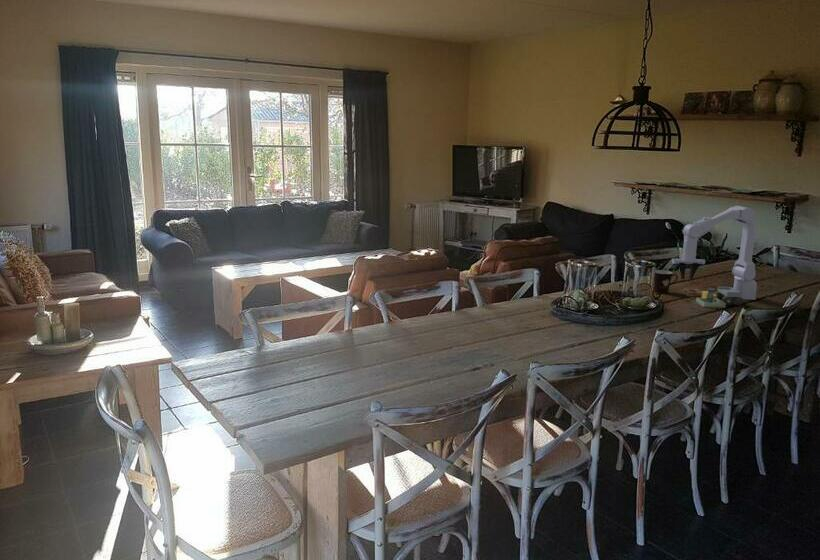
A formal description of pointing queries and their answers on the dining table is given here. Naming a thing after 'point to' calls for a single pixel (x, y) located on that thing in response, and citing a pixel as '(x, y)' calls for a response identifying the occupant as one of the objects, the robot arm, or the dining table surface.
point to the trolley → (729, 295)
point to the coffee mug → (663, 281)
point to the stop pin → (710, 295)
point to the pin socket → (692, 292)
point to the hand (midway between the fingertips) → (686, 278)
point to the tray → (716, 303)
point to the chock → (705, 294)
